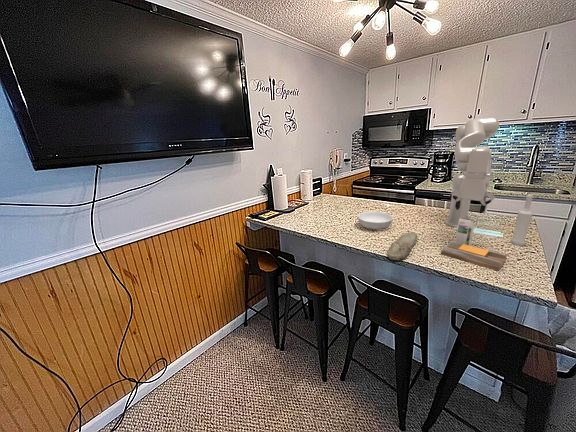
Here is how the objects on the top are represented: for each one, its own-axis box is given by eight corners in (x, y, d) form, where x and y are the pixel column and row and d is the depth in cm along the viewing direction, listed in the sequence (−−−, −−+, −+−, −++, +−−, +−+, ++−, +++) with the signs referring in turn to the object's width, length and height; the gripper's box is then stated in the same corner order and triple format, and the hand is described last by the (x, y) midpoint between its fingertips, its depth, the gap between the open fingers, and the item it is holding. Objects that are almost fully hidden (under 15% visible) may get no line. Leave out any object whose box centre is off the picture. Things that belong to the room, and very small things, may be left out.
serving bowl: (350, 225, 161) (350, 215, 159) (374, 218, 170) (374, 209, 168) (374, 235, 144) (375, 224, 142) (399, 227, 152) (400, 217, 150)
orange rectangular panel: (462, 245, 119) (463, 244, 119) (488, 252, 111) (489, 250, 111) (457, 250, 115) (458, 248, 115) (484, 257, 107) (484, 255, 107)
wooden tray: (450, 246, 126) (451, 239, 125) (505, 260, 110) (507, 253, 108) (440, 254, 119) (441, 247, 118) (498, 271, 102) (500, 263, 101)
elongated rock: (421, 240, 137) (402, 237, 144) (422, 231, 136) (403, 229, 142) (404, 263, 111) (382, 259, 117) (405, 252, 110) (382, 248, 116)
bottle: (510, 243, 125) (522, 196, 117) (511, 240, 128) (523, 193, 120) (523, 246, 121) (537, 197, 113) (524, 243, 124) (537, 195, 116)
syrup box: (454, 245, 126) (458, 219, 122) (458, 242, 130) (462, 216, 125) (467, 249, 122) (472, 221, 117) (470, 245, 125) (476, 218, 121)
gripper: (501, 176, 110) (493, 212, 115) (457, 173, 123) (451, 206, 128) (497, 178, 106) (489, 216, 111) (451, 175, 119) (446, 209, 124)
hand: (469, 211), depth 120 cm, fingers open, 9 cm apart
